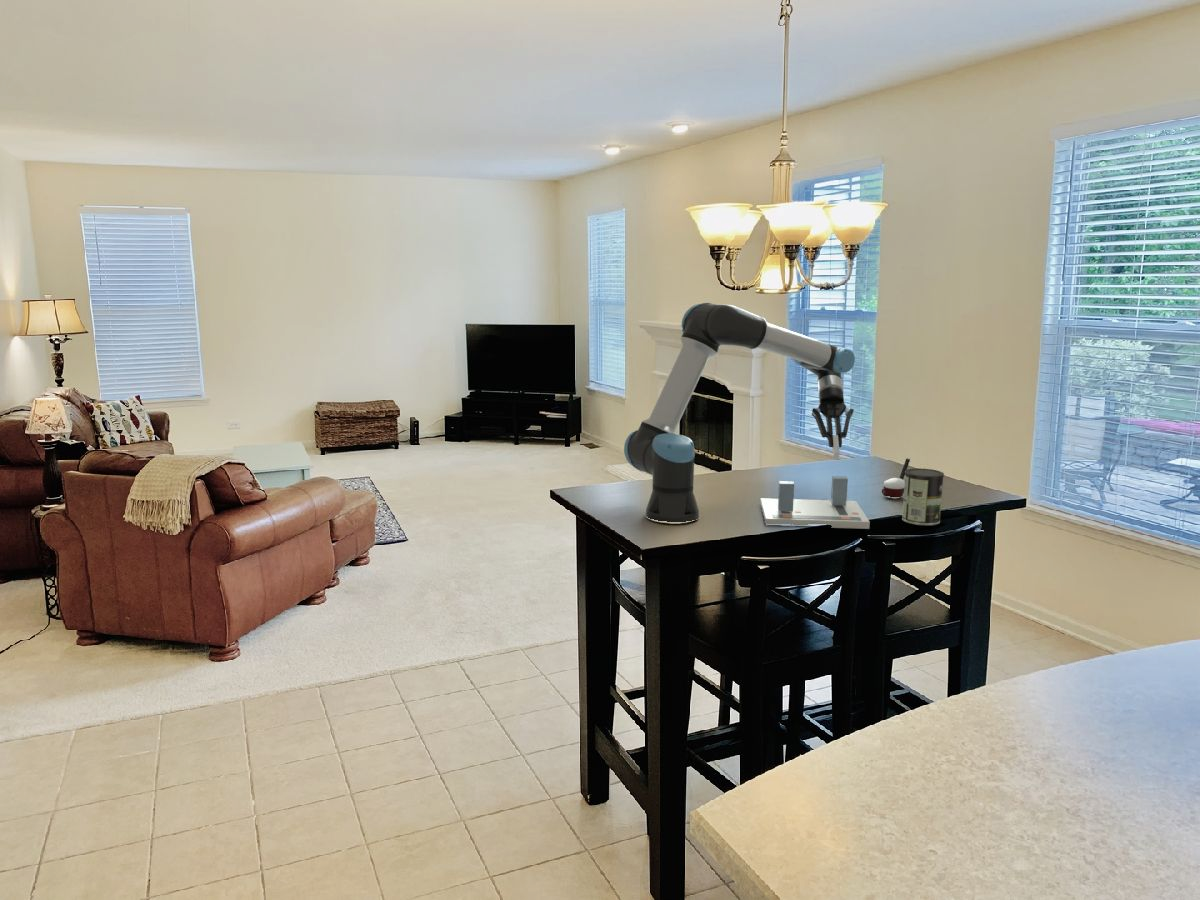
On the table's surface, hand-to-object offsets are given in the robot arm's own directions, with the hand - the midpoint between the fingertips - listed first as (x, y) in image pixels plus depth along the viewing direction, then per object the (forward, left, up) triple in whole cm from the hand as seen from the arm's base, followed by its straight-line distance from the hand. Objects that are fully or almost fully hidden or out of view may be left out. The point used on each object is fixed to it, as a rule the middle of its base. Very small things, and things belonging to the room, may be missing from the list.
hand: (836, 455), depth 264 cm
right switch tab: (-1, -13, -12) cm, 18 cm away
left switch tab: (-17, -21, -12) cm, 29 cm away
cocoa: (+19, +6, -15) cm, 25 cm away
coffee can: (+21, -19, -15) cm, 32 cm away
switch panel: (-9, -18, -14) cm, 25 cm away
